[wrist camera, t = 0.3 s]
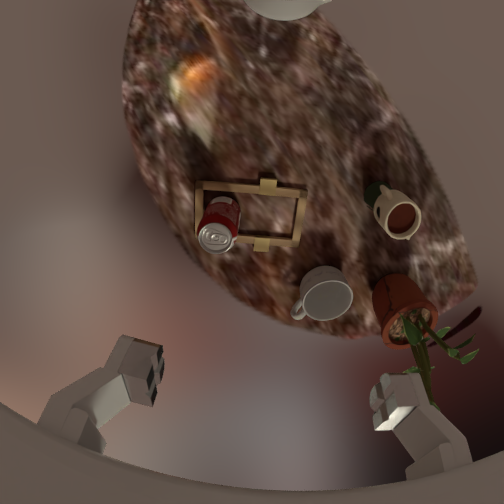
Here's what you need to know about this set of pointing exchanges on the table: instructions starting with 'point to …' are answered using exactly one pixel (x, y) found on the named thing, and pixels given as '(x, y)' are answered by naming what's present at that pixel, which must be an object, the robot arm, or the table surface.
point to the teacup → (323, 294)
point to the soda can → (219, 225)
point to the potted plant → (411, 323)
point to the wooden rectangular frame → (264, 188)
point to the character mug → (393, 210)
